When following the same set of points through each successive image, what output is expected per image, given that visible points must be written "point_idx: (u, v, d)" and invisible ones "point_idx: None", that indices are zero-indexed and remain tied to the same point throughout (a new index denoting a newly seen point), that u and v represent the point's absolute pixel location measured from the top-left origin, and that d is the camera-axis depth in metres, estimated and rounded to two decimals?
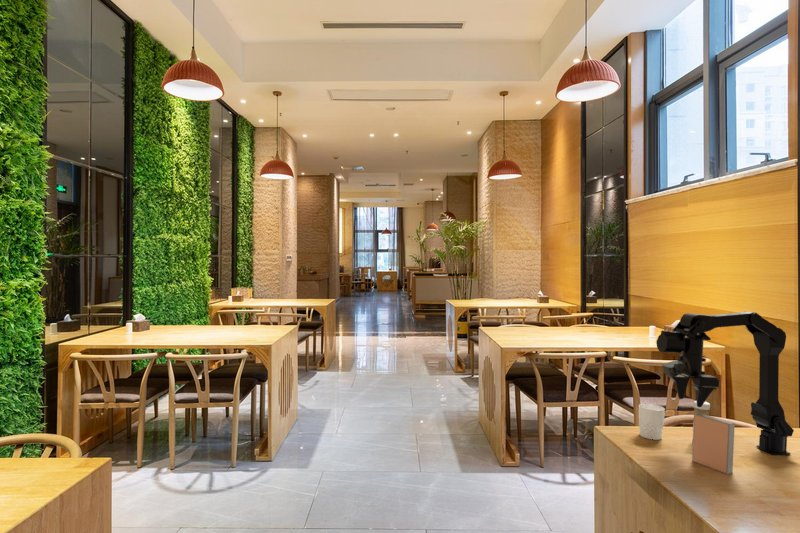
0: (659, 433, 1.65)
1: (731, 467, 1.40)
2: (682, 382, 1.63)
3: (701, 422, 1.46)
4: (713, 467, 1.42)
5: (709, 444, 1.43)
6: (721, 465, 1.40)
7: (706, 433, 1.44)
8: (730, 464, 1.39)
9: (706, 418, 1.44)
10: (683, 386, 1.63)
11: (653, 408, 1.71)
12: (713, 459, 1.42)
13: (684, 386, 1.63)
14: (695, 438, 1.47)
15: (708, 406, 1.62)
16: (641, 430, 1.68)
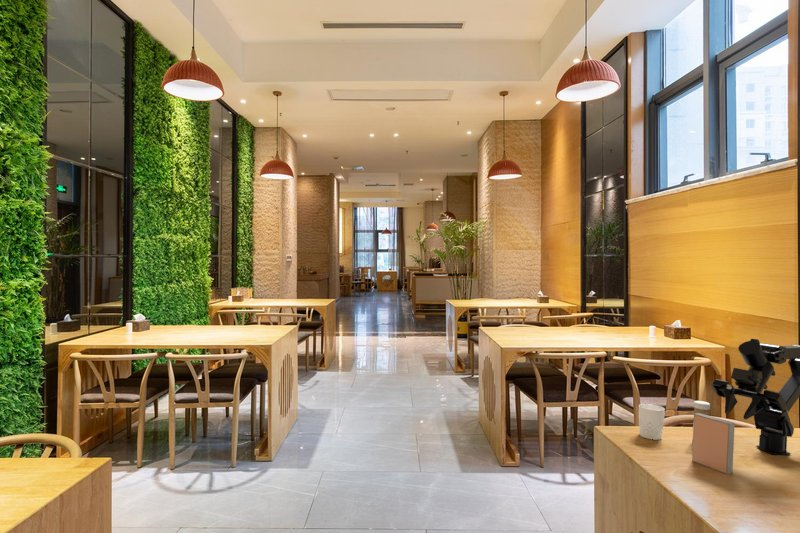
0: (659, 433, 1.65)
1: (731, 467, 1.40)
2: (733, 400, 1.53)
3: (701, 422, 1.45)
4: (713, 467, 1.42)
5: (709, 444, 1.43)
6: (721, 465, 1.40)
7: (706, 433, 1.44)
8: (730, 464, 1.39)
9: (706, 418, 1.44)
10: (732, 404, 1.53)
11: (653, 408, 1.71)
12: (713, 459, 1.42)
13: (732, 405, 1.53)
14: (695, 438, 1.47)
15: (708, 406, 1.62)
16: (641, 430, 1.68)
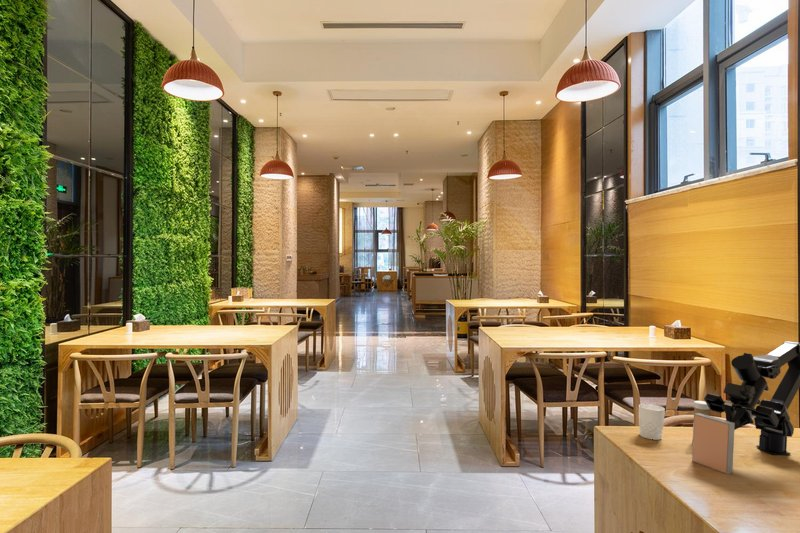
0: (659, 433, 1.65)
1: (731, 467, 1.40)
2: (734, 418, 1.49)
3: (701, 422, 1.45)
4: (713, 467, 1.42)
5: (709, 444, 1.43)
6: (721, 465, 1.40)
7: (706, 433, 1.44)
8: (730, 464, 1.39)
9: (706, 418, 1.44)
10: None
11: (653, 408, 1.71)
12: (713, 459, 1.42)
13: None
14: (695, 438, 1.47)
15: None
16: (641, 430, 1.68)
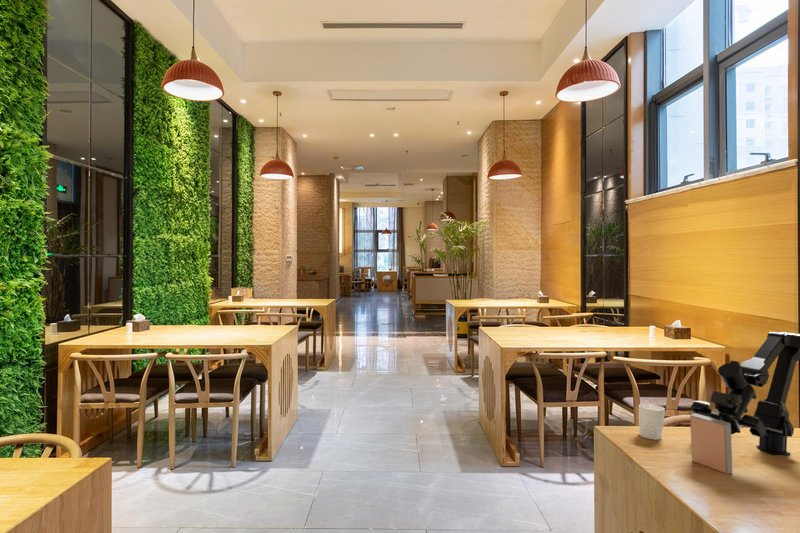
0: (659, 433, 1.65)
1: (731, 466, 1.40)
2: None
3: (697, 423, 1.45)
4: (713, 467, 1.42)
5: (707, 445, 1.43)
6: (720, 465, 1.40)
7: (703, 434, 1.44)
8: (729, 464, 1.39)
9: (702, 419, 1.43)
10: None
11: (653, 408, 1.71)
12: (712, 460, 1.42)
13: None
14: (693, 439, 1.46)
15: None
16: (641, 430, 1.68)
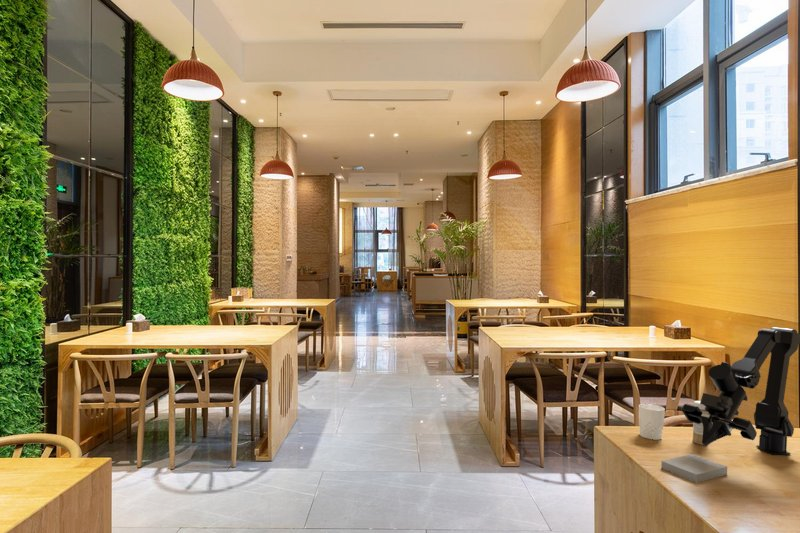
0: (659, 433, 1.65)
1: (723, 469, 1.38)
2: (711, 429, 1.44)
3: None
4: None
5: None
6: None
7: None
8: (721, 472, 1.37)
9: None
10: None
11: (653, 408, 1.71)
12: None
13: None
14: None
15: None
16: (641, 430, 1.68)
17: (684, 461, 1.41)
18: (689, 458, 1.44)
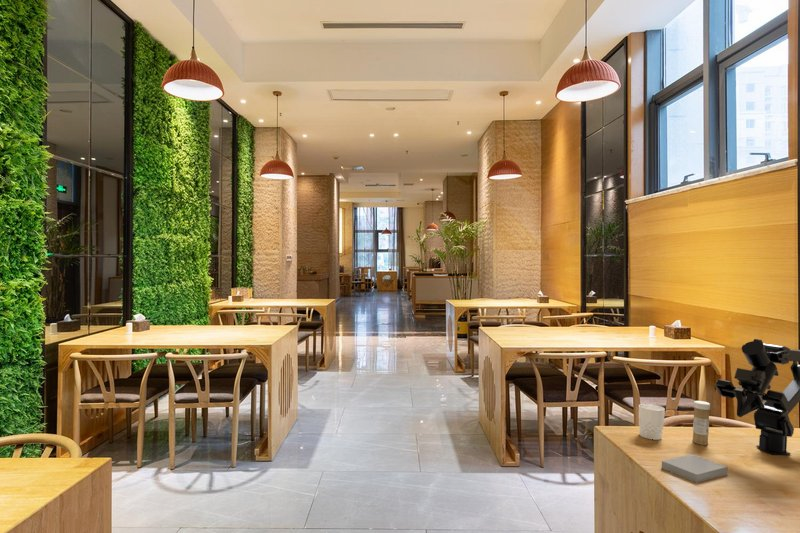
0: (659, 433, 1.65)
1: (724, 469, 1.38)
2: (744, 402, 1.52)
3: None
4: None
5: None
6: None
7: None
8: (722, 472, 1.37)
9: None
10: None
11: (653, 408, 1.71)
12: None
13: None
14: None
15: (708, 406, 1.62)
16: (641, 430, 1.68)
17: (684, 461, 1.41)
18: (689, 458, 1.44)
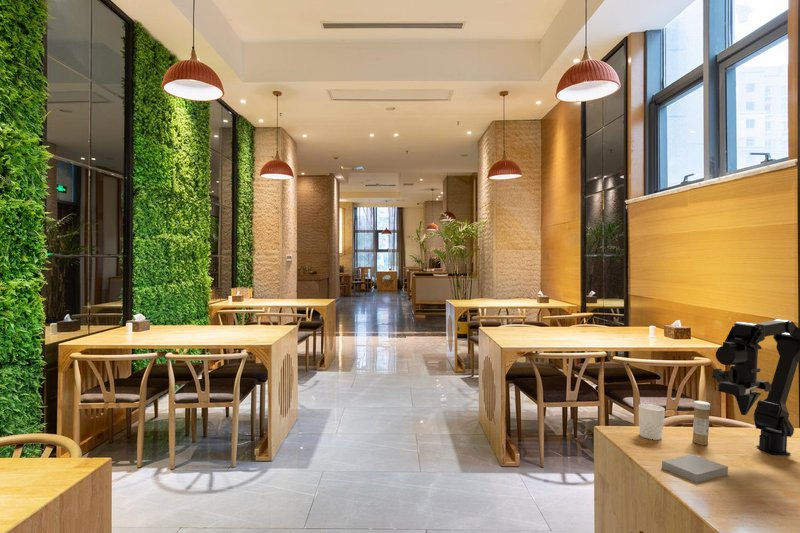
0: (659, 433, 1.65)
1: (724, 469, 1.38)
2: None
3: None
4: None
5: None
6: None
7: None
8: (722, 472, 1.37)
9: None
10: None
11: (653, 408, 1.71)
12: None
13: None
14: None
15: (708, 406, 1.62)
16: (641, 430, 1.68)
17: (684, 461, 1.41)
18: (689, 458, 1.44)
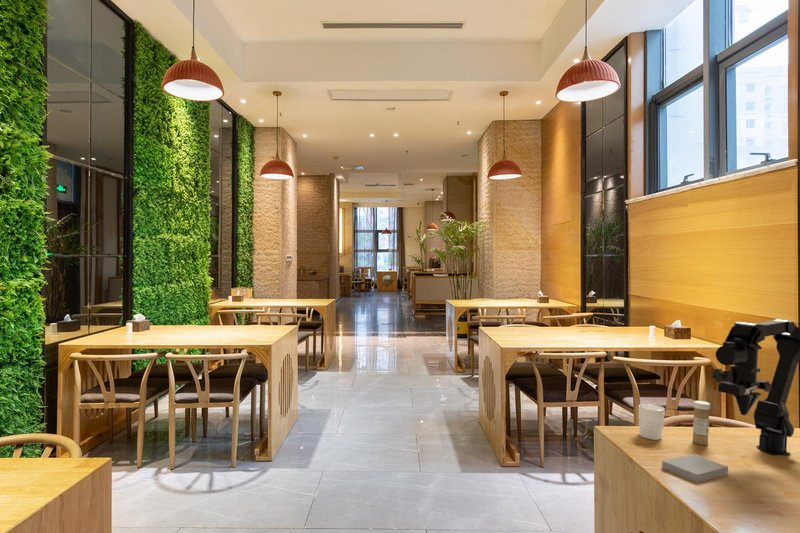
0: (659, 433, 1.65)
1: (724, 469, 1.38)
2: None
3: None
4: None
5: None
6: None
7: None
8: (722, 472, 1.37)
9: None
10: None
11: (653, 408, 1.71)
12: None
13: None
14: None
15: (708, 406, 1.62)
16: (641, 430, 1.68)
17: (685, 461, 1.41)
18: (689, 458, 1.44)
